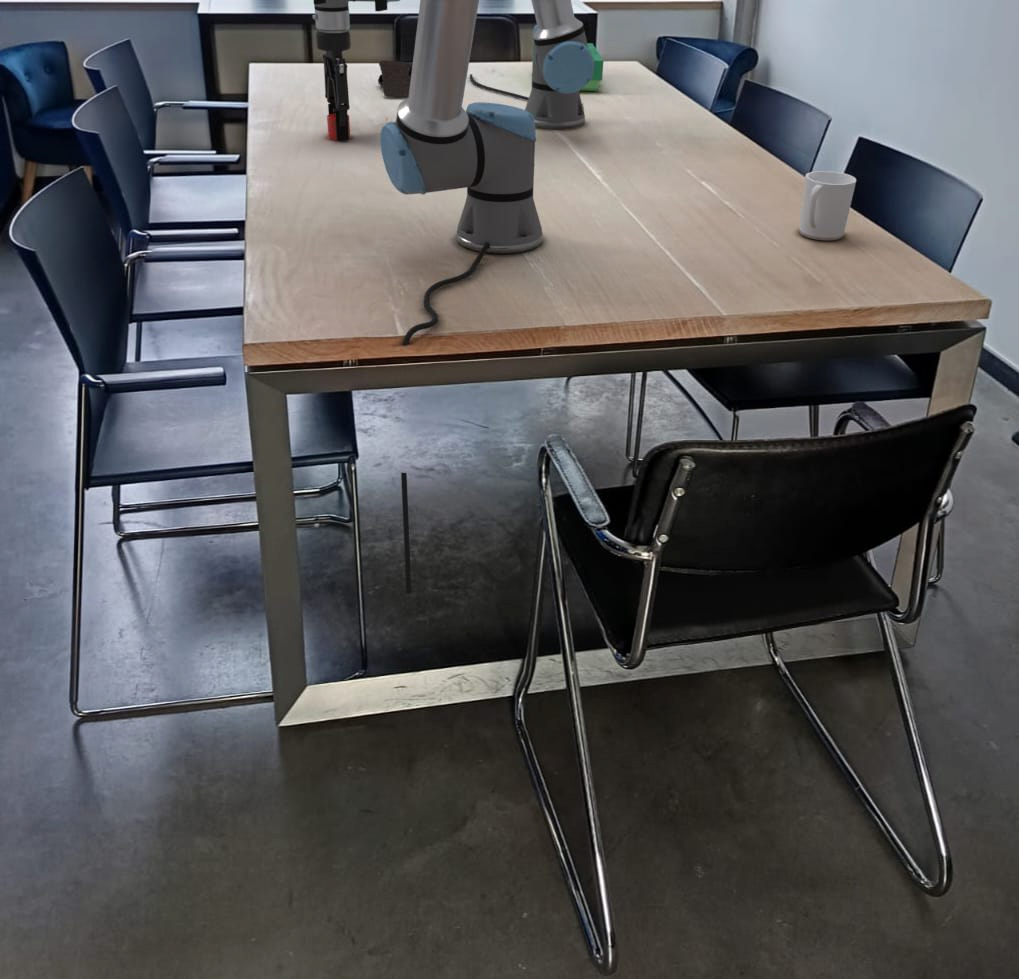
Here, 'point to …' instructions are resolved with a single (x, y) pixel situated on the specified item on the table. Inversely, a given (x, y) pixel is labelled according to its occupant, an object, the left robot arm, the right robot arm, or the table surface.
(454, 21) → the left robot arm
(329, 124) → the red cylinder
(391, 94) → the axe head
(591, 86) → the green tank
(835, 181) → the mug
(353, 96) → the table surface
